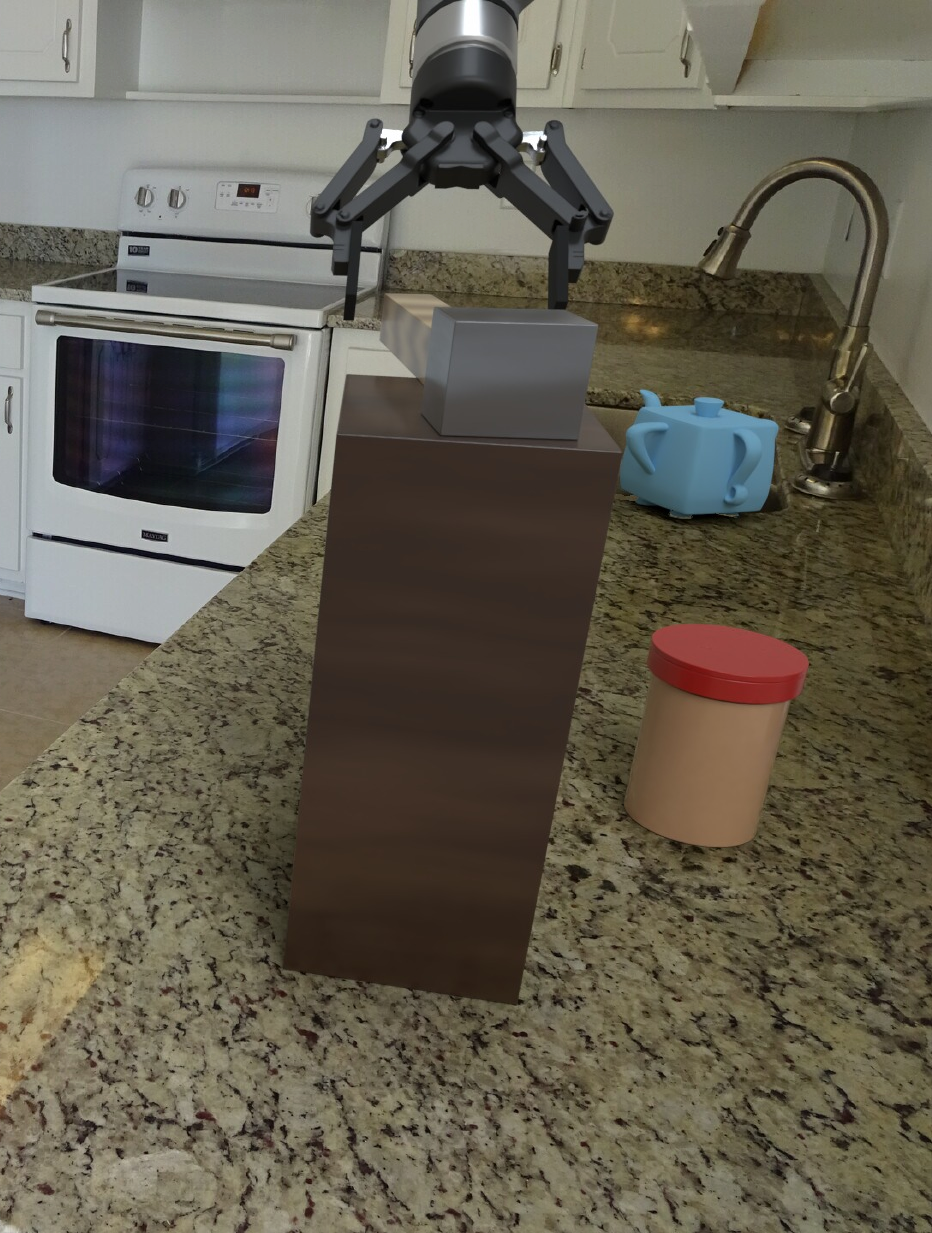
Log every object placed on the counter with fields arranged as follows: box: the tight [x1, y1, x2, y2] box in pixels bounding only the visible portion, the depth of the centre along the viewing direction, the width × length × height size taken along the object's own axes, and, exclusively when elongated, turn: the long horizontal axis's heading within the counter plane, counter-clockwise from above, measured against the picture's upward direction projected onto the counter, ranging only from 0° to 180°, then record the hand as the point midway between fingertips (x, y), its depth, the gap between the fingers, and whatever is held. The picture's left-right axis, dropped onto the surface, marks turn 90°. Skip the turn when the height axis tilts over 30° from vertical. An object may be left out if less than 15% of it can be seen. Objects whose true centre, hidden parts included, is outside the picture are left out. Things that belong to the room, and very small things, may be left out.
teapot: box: [619, 389, 780, 517], centre depth 151 cm, size 18×16×14 cm
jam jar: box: [623, 672, 792, 848], centre depth 80 cm, size 8×8×12 cm
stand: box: [282, 373, 624, 1005], centre depth 67 cm, size 16×12×29 cm
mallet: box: [379, 292, 599, 440], centre depth 68 cm, size 29×6×5 cm, turn 175°
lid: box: [646, 623, 810, 704], centre depth 78 cm, size 9×9×2 cm
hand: (452, 312), depth 85 cm, fingers open, 13 cm apart
